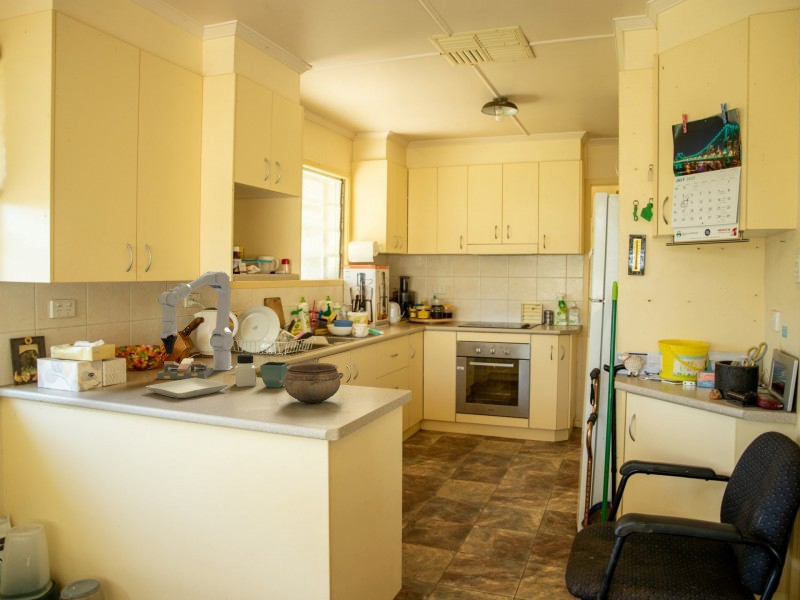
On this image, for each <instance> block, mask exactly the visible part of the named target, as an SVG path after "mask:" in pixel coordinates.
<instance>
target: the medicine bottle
mask: <svg viewBox="0 0 800 600" xmlns="http://www.w3.org/2000/svg"><path fill="white" fill-rule="evenodd" d="M236 357H237V365H235V366H234V383H235V386H236V387H238V388H242V387H244V388H245V387H255V386H257V368H256V366H255V365H254V355H253V354H250V353H241V354H238V355H237V356H236Z"/></svg>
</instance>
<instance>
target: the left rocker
mask: <svg viewBox="0 0 800 600" xmlns="http://www.w3.org/2000/svg"><path fill="white" fill-rule="evenodd" d="M163 362H164V363H163V364H164V365H166V366H168V368H177V365H180V364H181V363H178V362H176V361H173V360H172V361H171V360H169V361H168V360H167V361H166V360H165V361H163Z"/></svg>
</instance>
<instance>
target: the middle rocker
mask: <svg viewBox="0 0 800 600" xmlns="http://www.w3.org/2000/svg"><path fill="white" fill-rule="evenodd" d="M191 361H195V360H194V358H193V357H191V358H189V357H188V358H186V357H185V358H183V359H182V361H181V362H180V363H179V364H180V365H179V367H178V369H177V372H187V371H188V370H189V368H191V365H192V364H191Z"/></svg>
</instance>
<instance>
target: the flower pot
mask: <svg viewBox="0 0 800 600" xmlns="http://www.w3.org/2000/svg"><path fill="white" fill-rule="evenodd" d="M289 365H290V362H287V361H284V362H283V361H267V362H265V363H262V364H260V365H259V367H260V376H261V379H262V382H263V384H264V385H265V387H266V388H277V389H279V388H281V387H284V384H281V383H279V381H280V380H282V381H284V380H285V376H286V374H287V371H288V369H287V368H286V367H287V366H289Z"/></svg>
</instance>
